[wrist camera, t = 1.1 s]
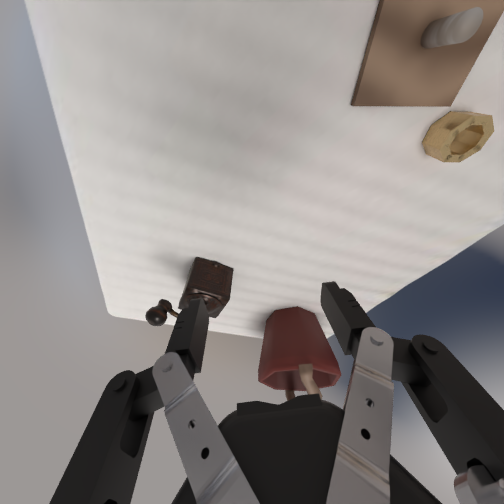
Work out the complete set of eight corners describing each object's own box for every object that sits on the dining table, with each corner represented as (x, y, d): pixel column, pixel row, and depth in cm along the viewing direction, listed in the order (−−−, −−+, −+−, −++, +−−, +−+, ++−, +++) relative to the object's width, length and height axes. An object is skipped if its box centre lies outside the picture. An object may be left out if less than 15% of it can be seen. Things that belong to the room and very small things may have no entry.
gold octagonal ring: (438, 111, 27) (460, 115, 24) (478, 111, 27) (505, 115, 24) (415, 154, 31) (432, 162, 28) (450, 154, 31) (471, 162, 28)
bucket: (278, 293, 58) (289, 395, 39) (340, 308, 62) (376, 405, 44) (251, 329, 73) (249, 414, 55) (302, 338, 78) (317, 419, 60)
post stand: (398, -66, 18) (445, -114, 14) (536, -67, 18) (630, -115, 14) (350, 105, 27) (369, 110, 23) (443, 105, 27) (482, 111, 22)
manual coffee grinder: (235, 267, 50) (228, 335, 37) (221, 289, 57) (211, 354, 44) (176, 247, 46) (142, 316, 33) (168, 274, 53) (138, 340, 39)
